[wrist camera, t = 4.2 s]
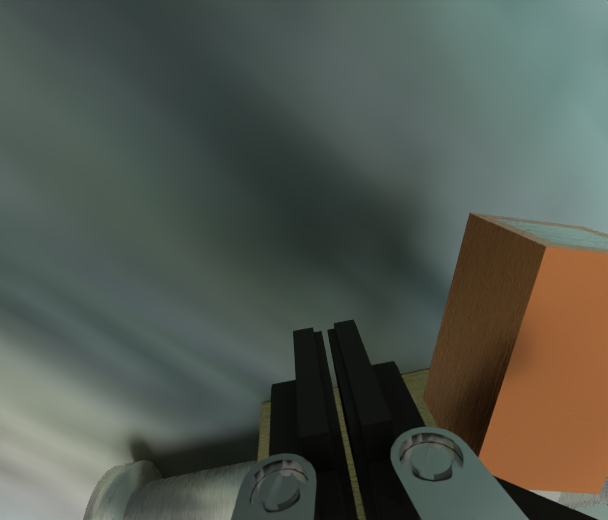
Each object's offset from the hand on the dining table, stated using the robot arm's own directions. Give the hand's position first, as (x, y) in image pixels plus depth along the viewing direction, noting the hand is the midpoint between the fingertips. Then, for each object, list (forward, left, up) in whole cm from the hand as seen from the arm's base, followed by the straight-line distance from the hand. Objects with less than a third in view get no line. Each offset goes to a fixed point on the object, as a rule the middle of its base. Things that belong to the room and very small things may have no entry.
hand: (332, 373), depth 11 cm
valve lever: (+4, +3, +1) cm, 5 cm away
